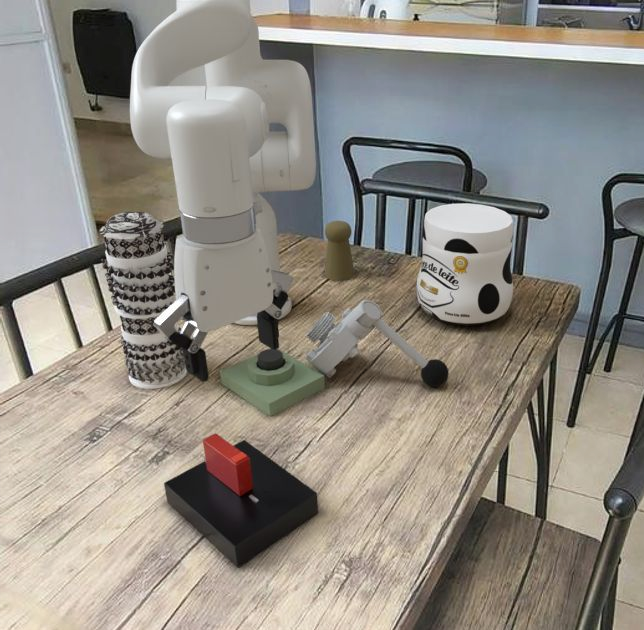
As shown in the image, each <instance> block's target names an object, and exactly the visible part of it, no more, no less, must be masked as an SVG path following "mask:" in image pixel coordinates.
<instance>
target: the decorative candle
mask: <svg viewBox="0 0 644 630" xmlns="http://www.w3.org/2000/svg"><path fill="white" fill-rule="evenodd" d="M163 228H164V224H163V222H162V221H159V220H157V219H156V218H155V217H154V216H153V215H152V214H150V213H147V212H144V211H126V212H121V213H116V214H114V215H112V216H111V217H109V218H108V219H107V221H106V222H105V225H103V226H102V227H101V228H100V229H99V234H100V236H102V237H103V241H104V245H105V248H106V249H105V251H104V253H105V256H103V258H102V259H101V263H102V264H101V265H102V268H103V269H104V270H106V272H105V273H104V277H106V282H107V286H108V292H110V293H111V294H112V295H111V296H110V298H111V300H112V302H111V303H112V305H113V306H114V307H113V308H114V310H115V313H116V315H118V316H119V319H120V323H121V325H120V332H121V337H120V343H121V345H122V349H123V351H122V353H123V354H124V355H125V356H124V364H125V365H126V373H127V375H128V379H129V383H130V384H131V385H133V386H135V387H136V388H140V389H144V390H145V389H146V390H154V389H155V390H156V389H162V388H166V387H170V386H172V385H174V384H176V383H178V382H180V381H182V379H184V378H185V376H187V373H188V372H187V370H186V367H185V361H184V355H183V349H182V348H181V347H179V346H177V345H175V344H173V343H172V342H170V341H169V340H167V339H166V338H165V337H164V336H163V335H162V334H161V333H160V332H159V330H158V329H157V328H156V327H155V326H154V321H155V320H156V319H157V318H158V317H159V316H160V315H161V314H162V313H163V312H164V311H165V310H166V309H167V308H168V307H169V306H171V305H172V304H173V303H174V302H175V301H176V295H175V285H174V284H175V280H174V275H172V274H171V273H172V272H173V271H174V263H172V260H174V254H172V253H171V252H170V251H168V248H167V245H166V244H165V238H164V232H163ZM174 327H175V329H176V331H177V332H179V333H180V331H181V329H182V327H180V325H179V320H178V321H177V322H176V324H175V326H174Z"/></svg>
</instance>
